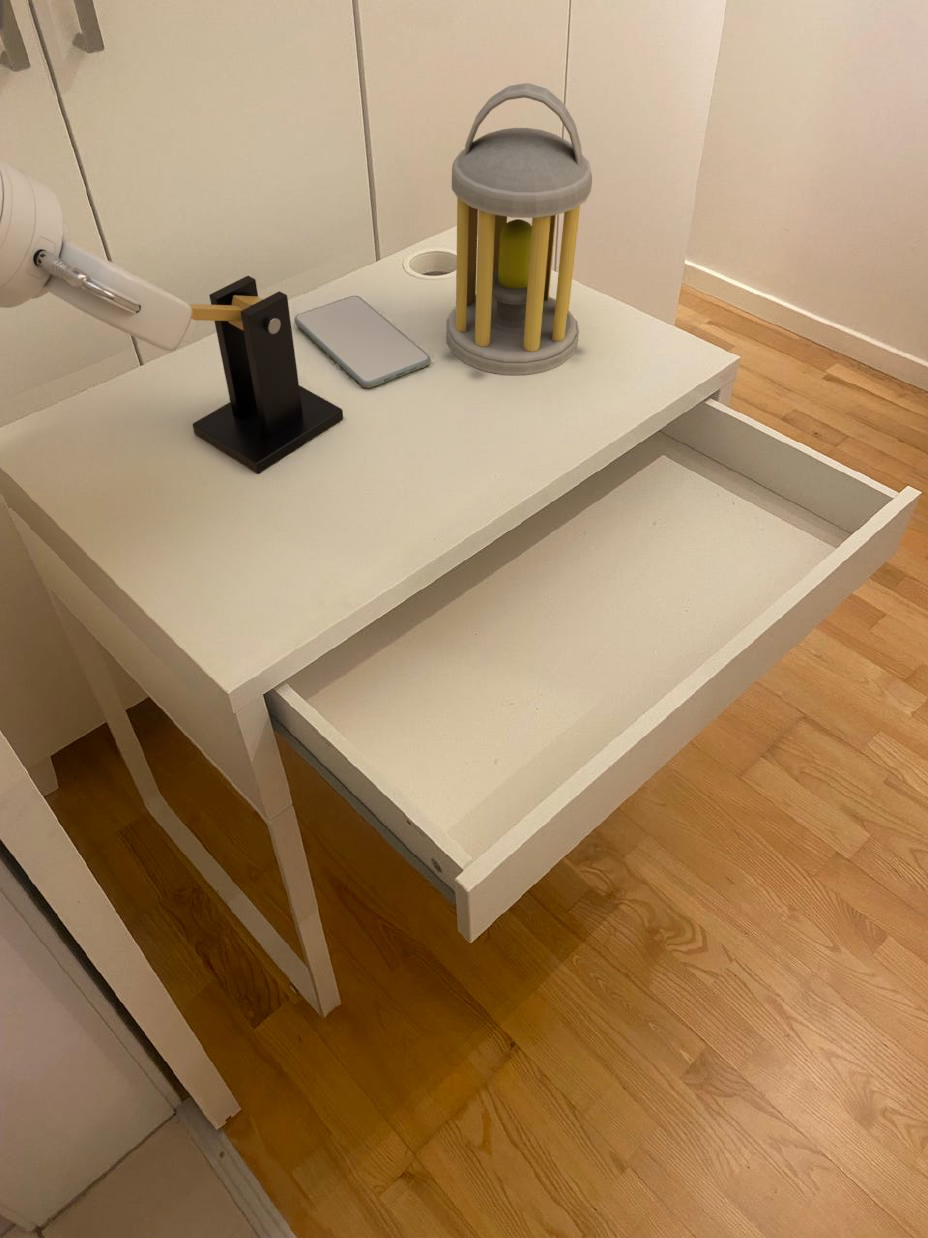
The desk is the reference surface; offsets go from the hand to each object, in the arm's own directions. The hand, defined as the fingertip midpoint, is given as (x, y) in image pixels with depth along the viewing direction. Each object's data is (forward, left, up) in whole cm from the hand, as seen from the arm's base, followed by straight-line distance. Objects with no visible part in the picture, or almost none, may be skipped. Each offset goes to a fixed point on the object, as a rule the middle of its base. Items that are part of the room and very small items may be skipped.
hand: (149, 308), depth 75 cm
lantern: (+35, +15, -16) cm, 41 cm away
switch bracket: (+8, +5, -16) cm, 19 cm away
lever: (+4, +2, -3) cm, 6 cm away
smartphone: (+19, +17, -16) cm, 30 cm away
